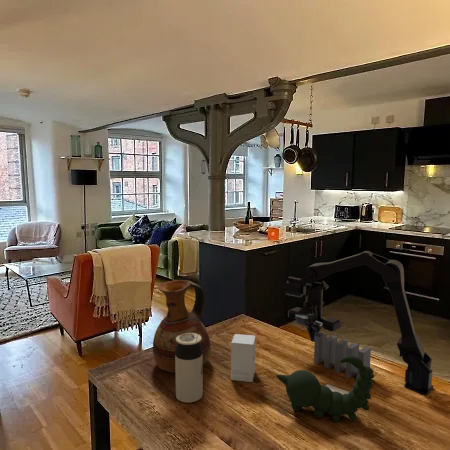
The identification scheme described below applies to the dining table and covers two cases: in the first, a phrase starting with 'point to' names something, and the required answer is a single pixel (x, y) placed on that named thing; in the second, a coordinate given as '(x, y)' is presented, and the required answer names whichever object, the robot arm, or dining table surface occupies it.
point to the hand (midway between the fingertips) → (313, 341)
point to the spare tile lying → (336, 389)
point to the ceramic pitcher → (179, 323)
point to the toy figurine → (329, 392)
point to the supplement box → (243, 357)
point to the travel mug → (189, 367)
